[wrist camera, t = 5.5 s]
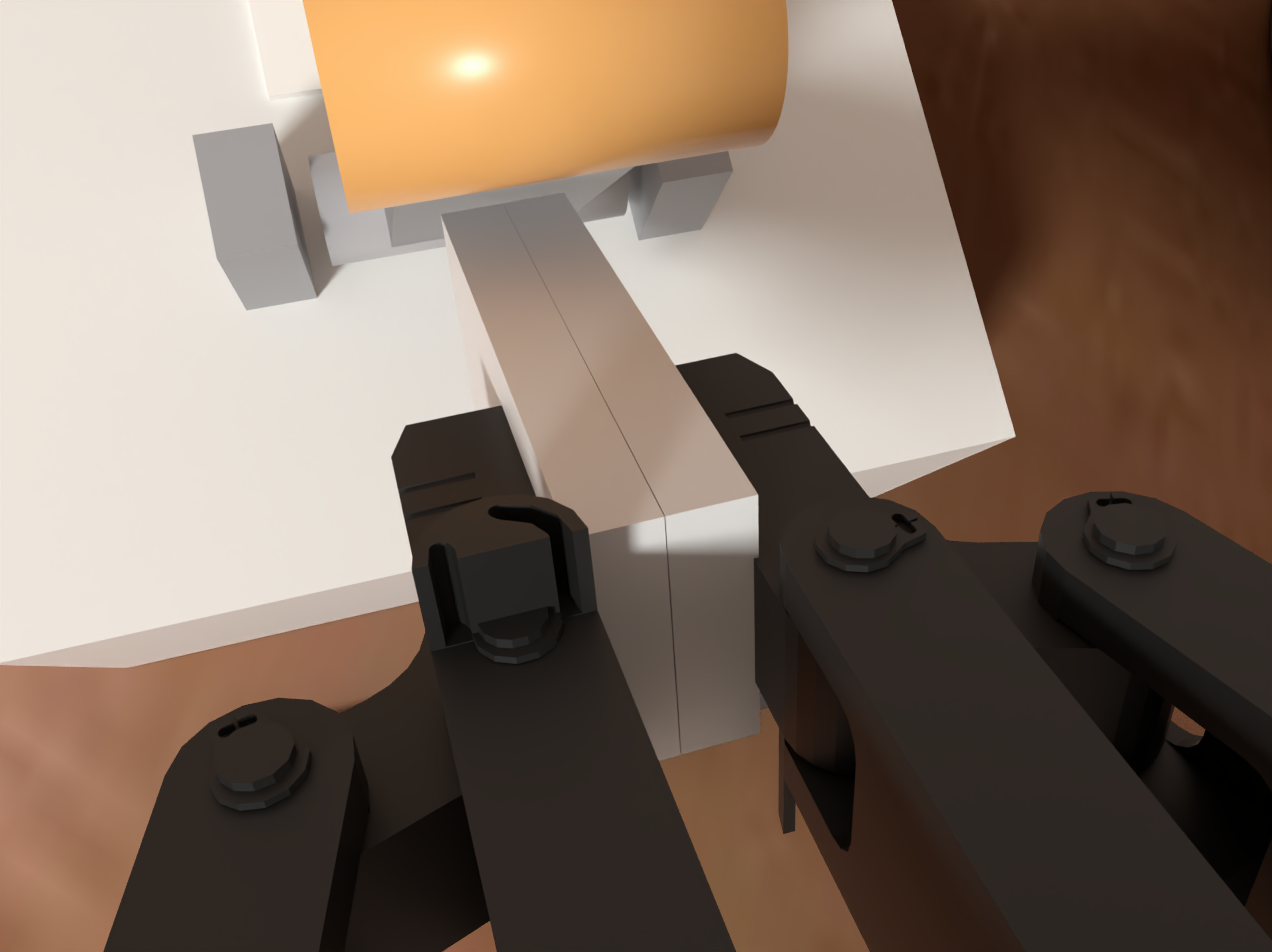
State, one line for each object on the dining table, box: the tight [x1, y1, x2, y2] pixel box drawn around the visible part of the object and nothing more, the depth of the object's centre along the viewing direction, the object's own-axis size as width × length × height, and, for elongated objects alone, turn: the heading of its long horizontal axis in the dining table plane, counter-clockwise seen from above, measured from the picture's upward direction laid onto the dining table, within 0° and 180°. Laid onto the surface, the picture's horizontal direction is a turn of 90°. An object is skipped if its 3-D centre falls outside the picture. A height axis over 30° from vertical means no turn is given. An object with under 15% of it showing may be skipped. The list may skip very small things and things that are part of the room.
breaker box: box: [0, 0, 1016, 709], centre depth 24 cm, size 18×16×11 cm
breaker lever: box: [303, 0, 788, 266], centre depth 15 cm, size 5×2×11 cm, turn 104°
